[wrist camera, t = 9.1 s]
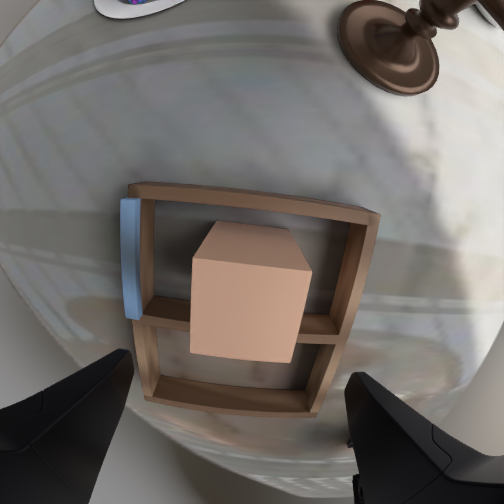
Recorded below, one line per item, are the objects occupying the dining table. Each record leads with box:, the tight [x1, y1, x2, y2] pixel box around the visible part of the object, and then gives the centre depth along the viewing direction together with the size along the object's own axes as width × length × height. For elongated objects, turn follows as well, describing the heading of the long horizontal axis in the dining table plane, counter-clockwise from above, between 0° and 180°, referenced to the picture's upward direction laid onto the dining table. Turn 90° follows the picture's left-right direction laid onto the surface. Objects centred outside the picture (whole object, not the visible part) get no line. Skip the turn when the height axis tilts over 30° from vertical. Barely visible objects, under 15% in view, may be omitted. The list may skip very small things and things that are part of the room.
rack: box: [120, 182, 381, 418], centre depth 19 cm, size 18×16×4 cm
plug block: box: [190, 221, 312, 363], centre depth 16 cm, size 5×5×8 cm
